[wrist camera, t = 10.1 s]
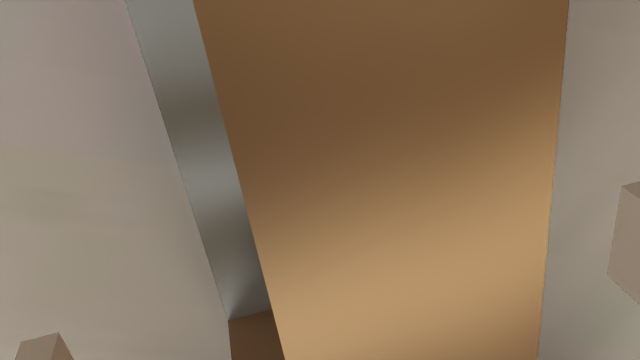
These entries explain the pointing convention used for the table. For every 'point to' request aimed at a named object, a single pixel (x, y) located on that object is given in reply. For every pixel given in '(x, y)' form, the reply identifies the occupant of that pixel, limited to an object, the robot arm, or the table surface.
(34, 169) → the table surface
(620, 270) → the robot arm
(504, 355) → the bed rail
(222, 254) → the wooden u-shaped stand
